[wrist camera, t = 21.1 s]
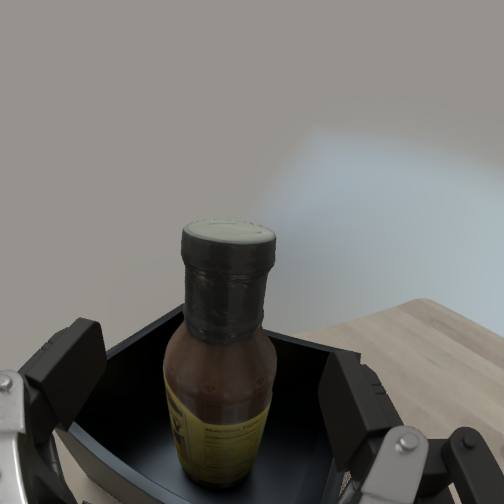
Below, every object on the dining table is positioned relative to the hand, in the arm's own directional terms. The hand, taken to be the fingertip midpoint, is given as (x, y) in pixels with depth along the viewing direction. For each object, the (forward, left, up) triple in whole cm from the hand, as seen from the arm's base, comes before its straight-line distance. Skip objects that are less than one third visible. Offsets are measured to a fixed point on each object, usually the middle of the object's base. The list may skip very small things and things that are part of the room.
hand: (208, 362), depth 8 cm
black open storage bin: (-2, +5, -17) cm, 18 cm away
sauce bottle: (-2, +4, -16) cm, 17 cm away
